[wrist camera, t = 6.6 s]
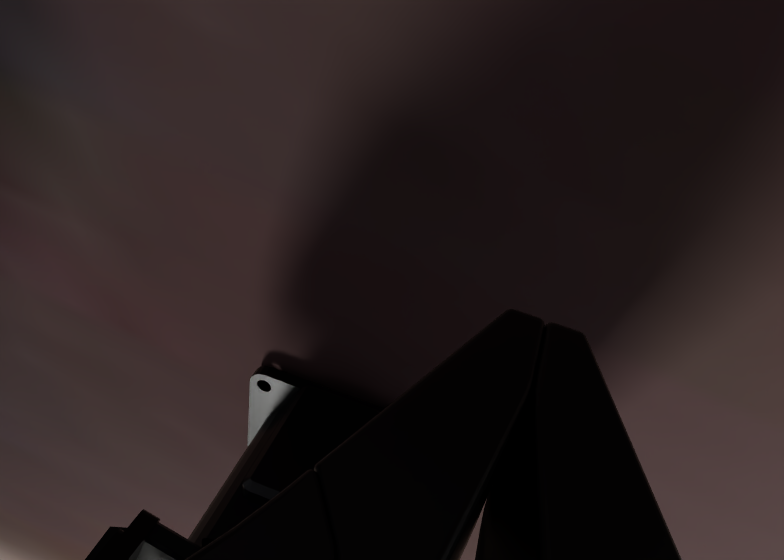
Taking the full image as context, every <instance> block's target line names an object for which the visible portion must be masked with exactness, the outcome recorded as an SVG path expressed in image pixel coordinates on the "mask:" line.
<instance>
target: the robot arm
mask: <svg viewBox="0 0 784 560" xmlns="http://www.w3.org/2000/svg"><path fill="white" fill-rule="evenodd" d="M544 326H545V327H544ZM486 499H487V500H486ZM485 501H486V504H485V507H484V512H483V517H482V522H481V527H480V533H479V539H478V545H477V551H476V557H475V560H681V557H680V555H679V553H678V550H677V548H676V546H675V543H674V541H673V539H672V536H671V534H670V532H669V529H668V527H667V525H666V522H665V520H664V518H663V515H662V513H661V511H660V508H659V506H658V504H657V501H656V499H655V497H654V494H653V492H652V490H651V487H650V485H649V483H648V480H647V478H646V476H645V473H644V471H643V469H642V466H641V464H640V462H639V459H638V457H637V455H636V452H635V450H634V448H633V445H632V443H631V441H630V438H629V436H628V434H627V431H626V429H625V427H624V424H623V422H622V420H621V417H620V415H619V413H618V410H617V408H616V406H615V403H614V401H613V399H612V397H611V394H610V392H609V390H608V387H607V385H606V383H605V380H604V378H603V376H602V373H601V371H600V369H599V366H598V364H597V362H596V359H595V357H594V355H593V352H592V350H591V348H590V345H589V343H588V341H587V338H586V336H585V335H584V334H583V333H581V332H579V331H576V330H573V329H571V328H568V327H565V326H562V325H559V324H556V323H552V322H551V323H548V324H546V325H544V321H543V320H542V319H540V318H538V317H535V316H532V315H529V314H526V313H523V312H521V311H518V310H514V309H509V310H507V311H505V312H504V313H503V314H501V315H500V316H499V317H498V318H497V319H495V320H494V321H493V322H492V323H490V324H489V325H488V326H487V327H485V328H484V329H483V330H482V331H480V332H479V333H478V334H477V335H475V336H474V337H473V338H472V339H470V340H469V341H468V342H467V343H466V344H464V345H463V346H462V347H461V348H459V349H458V350H457V351H456V352H454V353H453V354H452V355H451V356H449V357H448V358H447V359H446V360H444V361H443V362H442V363H441V364H440V365H438V366H437V367H436V368H435V369H433V370H432V371H431V372H430V373H428V374H427V375H426V376H425V377H423V378H422V379H421V380H420V381H418V382H417V383H416V384H415V385H413V386H412V387H411V388H410V389H409V390H407V391H406V392H405V393H404V394H402V395H401V396H400V397H399V398H397V399H396V400H395V401H394V402H392V403H391V404H390V405H389V406H387V407H386V408H385V409H384V408H381V407H378V406H375V405H373V404H370V403H367V402H364V401H362V400H359V399H356V398H353V397H351V396H348V395H345V394H342V393H340V392H337V391H334V390H332V389H329V388H326V387H323V386H321V385H318V384H315V383H312V382H310V381H307V380H304V379H301V378H299V377H296V376H293V375H290V374H288V373H285V372H282V371H279V370H277V369H274V368H271V367H267V366H262V367H259V368H258V369H257V370H256V371H255V373H254V374H253V375H252V377H251V380H250V398H249V424H248V448H247V449H246V451H245V452H244V454H243V455H242V457H241V458H240V460H239V461H238V463H237V464H236V466H235V468H234V469H233V471H232V472H231V474H230V475H229V477H228V478H227V480H226V481H225V483H224V484H223V486H222V487H221V489H220V491H219V492H218V494H217V495H216V497H215V498H214V500H213V501H212V503H211V504H210V506H209V507H208V509H207V511H206V512H205V514H204V515H203V517H202V518H201V520H200V521H199V523H198V524H197V526H196V527H195V529H194V530H193V532H192V534H191V535H190V537H189V538H188V539H186V538H184V537H183V536H181V535H179V534H178V533H176V532H174V531H173V530H171V529H169V528H167V527H166V526H164V525H162V524H161V523H159V521H160V519H159V518H158V517H156V516H154V515H152V514H151V513H149V512H147V511H146V510H144V509H143V510H142V511H141V512H140V513H139V514H138V516H137V517H136V518H135V519H134V520H133V522H132V523H131V524H130V525H129V526H128V528H123V527H110V528H109V529H108V530H107V532H106V533H105V534H104V535H103V537H102V538H101V539H100V541H99V542H98V543H97V545H96V546H95V547H94V549H93V550H92V551H91V552H90V554H89V555H88V556H87V558H86V559H85V560H460V558H461V556H462V554H463V551H464V549H465V547H466V545H467V543H468V540H469V538H470V536H471V534H472V532H473V529H474V527H475V525H476V522H477V520H478V518H479V515H480V513H481V510H482V508H483V506H484V503H485Z"/></svg>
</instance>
